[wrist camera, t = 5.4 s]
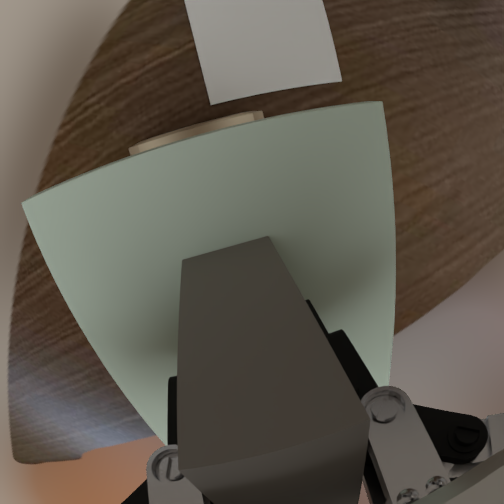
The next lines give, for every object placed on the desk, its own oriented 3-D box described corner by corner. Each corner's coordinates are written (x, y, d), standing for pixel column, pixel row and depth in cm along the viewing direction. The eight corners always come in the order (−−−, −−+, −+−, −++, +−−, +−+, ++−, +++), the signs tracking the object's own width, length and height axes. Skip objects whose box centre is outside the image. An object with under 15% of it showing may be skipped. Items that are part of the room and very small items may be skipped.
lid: (354, 101, 11) (582, 129, 3) (372, 367, 17) (448, 491, 9) (45, 188, 10) (-128, 329, 2) (171, 424, 16) (178, 568, 8)
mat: (315, -16, 25) (316, -17, 24) (339, 81, 30) (342, 81, 29) (184, 1, 24) (184, -1, 23) (210, 105, 29) (210, 105, 29)
